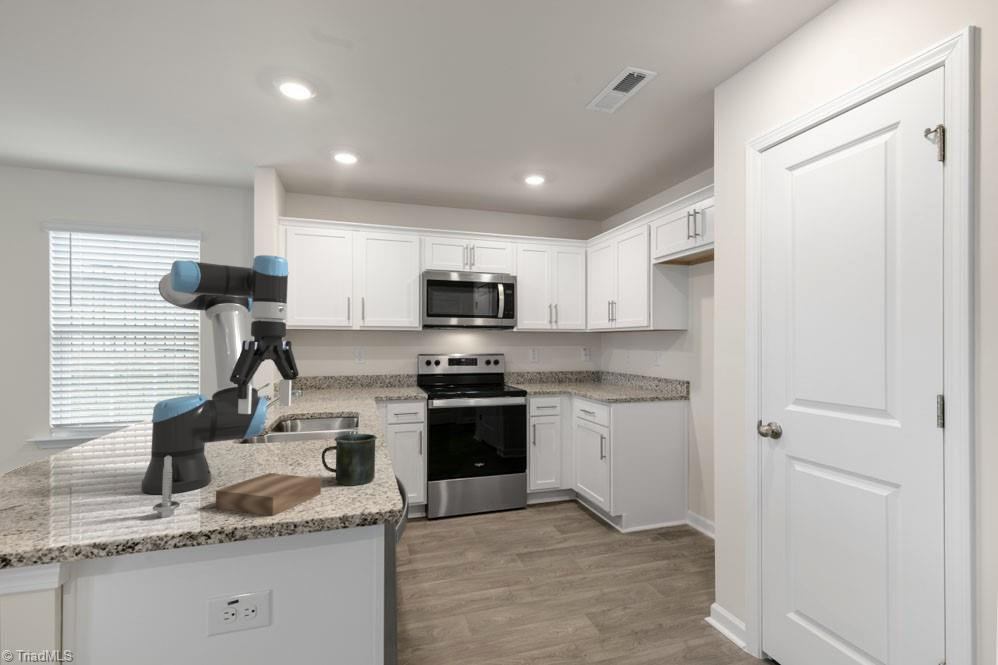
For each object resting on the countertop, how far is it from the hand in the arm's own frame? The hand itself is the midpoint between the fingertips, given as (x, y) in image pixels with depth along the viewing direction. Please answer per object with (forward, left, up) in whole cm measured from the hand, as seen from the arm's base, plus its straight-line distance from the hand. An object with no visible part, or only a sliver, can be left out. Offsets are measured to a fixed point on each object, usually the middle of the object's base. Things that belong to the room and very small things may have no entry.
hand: (266, 409), depth 112 cm
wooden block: (+1, +1, -22) cm, 22 cm away
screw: (-13, -14, -22) cm, 29 cm away
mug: (+9, +21, -22) cm, 32 cm away
